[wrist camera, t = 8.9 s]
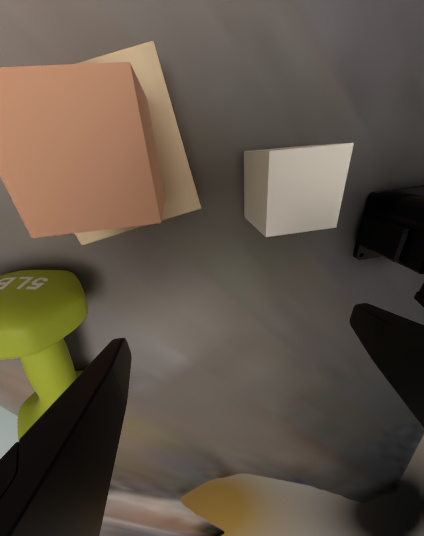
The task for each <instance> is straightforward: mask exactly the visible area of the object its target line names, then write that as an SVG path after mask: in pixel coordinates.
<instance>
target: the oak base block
mask: <svg viewBox="0 0 424 536" xmlns="http://www.w3.org/2000/svg"><path fill="white" fill-rule="evenodd" d="M113 62H130V64H131V66H132V68H133V70H134V72H135V74H136V76H137V78H138V80H139V82H140V84H141V87H142V89H143V91H144V93H145V95H146V97H147V100H148V106H149V111H150V117H151V123H152V128H153V134H154V140H155V145H156V151H157V157H158V162H159V168H160V173H161V179H162V185H163V190H164V196H165V204H164V209H163V215H162V220H166V219H169V218H172V217H175V216H179V215H182V214H185V213H188V212H191V211H195V210H198V209H201V205H200V202H199V198H198V195H197V192H196V188H195V185H194V181H193V178H192V174H191V171H190V167H189V164H188V160H187V157H186V153H185V150H184V146H183V143H182V139H181V136H180V132H179V129H178V125H177V122H176V118H175V115H174V111H173V108H172V104H171V101H170V97H169V94H168V90H167V87H166V83H165V80H164V76H163V73H162V69H161V66H160V63H159V59H158V56H157V52H156V49H155V45H154V42H153V41H150V42H147V43H143V44H140V45H137V46H133V47H130V48H127V49H123V50H120V51H116V52H113V53H110V54H106V55H103V56H100V57H96V58H93V59H89V60H86V61H83V62H79V63H76V64H90V63H113ZM143 226H146V225H140V226H132V227H123V228H115V229H107V230H98V231H90V232H82V233H75V235H76V237H77V238H78V240H79V241H80V243H81V245H85V244H88V243H91V242H94V241H98V240H101V239H104V238H107V237H111V236H114V235H117V234H120V233H124V232H127V231H130V230H133V229H136V228H140V227H143Z"/></svg>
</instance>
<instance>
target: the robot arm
mask: <svg viewBox="0 0 424 536" xmlns="http://www.w3.org/2000/svg"><path fill="white" fill-rule="evenodd" d="M375 197H376V198H375ZM374 198H375V200H374ZM379 256H383V257H385V258H387V259H389V260H391V261H393V262H397V263H399V264H401V265H403V266H405V267H407V268H409V269H411V270H413V271H415V272H417V273H419V274H424V186H416V187H409V188H402V189H394V190H387V191H380V192H374V193H372V194H370V196H369V197H368V200H367V204H366V208H365V212H364V216H363V220H362V224H361V228H360V232H359V236H358V240H357V244H356V248H355V252H354V257H355V258H357V259H358V260H361V259H367V258H373V257H379ZM414 299H415V300H417V301H418V302H419V303H420V304H421V305H422V306H423V307H424V283H423V285H422V286H421V288H420V290H419V292H417V293H416V295H415V296H414ZM350 325H351V327H352V328H353V330H354V332H355V333H356V335H357V336H358V338H359V340H360V341H361V343H362V344H363V346H364V348H365V349H366V351H367V352H368V354H369V355H370V357H371V358H372V360H373V361H374V363H375V364H376V366H377V367H378V368H379V370H380V371H381V372H382V373H383V375H384V376H385V377H386V379H387V380H388V381H389V383H390V384H391V385H392V387H393V388H394V389H395V391H396V392H397V393H398V395H399V396H400V397H401V399H402V400H403V401H404V403H405V404H406V405H407V406H408V408H409V409H410V410H411V412H412V413H413V414H414V416H415V417H416V418H417V420H418V421H419V422H420V424H421V425H422V426H423V428H424V325H422V324H419V323H417V322H414V321H411V320H409V319H406V318H404V317H401V316H398V315H396V314H393V313H391V312H388V311H386V310H383V309H380V308H378V307H375V306H373V305H370V304H367V303H362V304H356V305H355V306H354V308H353V311H352V314H351V317H350ZM130 368H131V352H130V349H129V346H128V343H127V341H126V339H125V338H118V339H113V340H112V341H111V342H110V343H109V344H108V345H107V346H106V347H105V348H104V349H103V350H102V352H101V353H100V354H99V355H98V356H97V357H96V358H95V359H94V360H93V361H92V362H91V363H90V364H89V365H88V366H87V368H86V369H85V370H84V371H83V372H82V373H81V374H80V375H79V376H78V377H77V378H76V379H75V380H74V381H73V382H72V384H71V385H70V386H69V387H68V388H67V389H66V390H65V391H64V392H63V393H62V394H61V395H60V396H59V397H58V398H57V400H56V401H55V402H54V403H53V404H52V405H51V406H50V407H49V408H48V409H47V410H46V411H45V412H44V413H43V414H42V416H41V417H40V418H39V419H38V420H37V421H36V422H35V423H34V424H33V425H32V426H31V427H30V428H29V429H28V430H27V432H26V433H25V434H24V435H23V436H22V437H21V438H20V439H19V442H16V443H15V444H14V445H13V446H12V447H11V448H10V450H9V451H8V452H7V453H6V454H5V455H4V456H3V457H2V458H1V459H0V536H99V534H100V530H101V525H102V520H103V515H104V510H105V506H106V501H107V496H108V491H109V487H110V482H111V477H112V472H113V467H114V463H115V458H116V453H117V448H118V443H119V439H120V434H121V429H122V424H123V420H124V415H125V410H126V405H127V398H128V388H129V378H130Z"/></svg>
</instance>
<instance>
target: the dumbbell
mask: <svg viewBox="0 0 424 536" xmlns="http://www.w3.org/2000/svg"><path fill="white" fill-rule="evenodd" d="M87 313H88V306H87V301H86V296H85V293H84V290H83V288H82V285H81V283H80V281H79V280H78V278H77V277H76V275H75V274H74V273H72V272H69V271H65V270H22V271H16V272H12V273H8V274H5V275H2V276H0V359H12V358H20V360H21V363H22V365H23V368H24V370H25V373H26V376H27V378H28V380H29V382H30V383H31V385H32V387H33V388H34V390H35V391H36V392H34V393H33V394H32V395H31V396H30V397H29V398H28V399H27V400H26V401H25V402H24V403H23V404H22V406H21V407H20V409H19V414H18V439H20V438H21V437H22V436H23V435H24V434H25V433H26V432H27V430H28V429H29V428H30V427H31V426H32V425H33V424H34V423H35V422H36V421H37V420H38V419H39V418H40V417H41V416H42V414H43V413H44V412H45V411H46V410H47V409H48V408H49V407H50V406H51V405H52V404H53V403H54V402H55V401H56V400H57V398H58V397H59V396H60V395H61V394H62V393H63V392H64V391H65V390H66V389H67V388H68V387H69V386H70V385H71V384H72V382H73V381H74V380H75V379H76V378H77V377H78V376H79V375H80V374H81V373H82V372H83V371H84V370H83V371H75V369H74V366H73V362H72V359H71V356H70V353H69V350H68V347H67V345H66V342H65V340H64V337H65V336H67V335H68V334H69V333H71V332H72V331H73V330H75V329H76V328H77V327H78V326H79V325H80V324H81V323H82V322H83V321H84V320H85V318H86V316H87Z"/></svg>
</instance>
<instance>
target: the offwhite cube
mask: <svg viewBox="0 0 424 536" xmlns="http://www.w3.org/2000/svg"><path fill="white" fill-rule="evenodd" d="M353 144H354V143H343V144H324V145H306V146H296V147H285V148H274V149H264V150H253V151H244V218H246V219H247V220H248V221H249V222H250V223H251V224H252V225H253V226H254V227H255V228H256V229H257V230H259V231H260V232H261V233H262V234H263V235H264V236H265V237H270V236H278V235H285V234H292V233H300V232H307V231H314V230H322V229H329V228H336V226H337V221H338V217H339V212H340V207H341V202H342V197H343V192H344V188H345V183H346V178H347V173H348V168H349V164H350V159H351V154H352V149H353Z"/></svg>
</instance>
